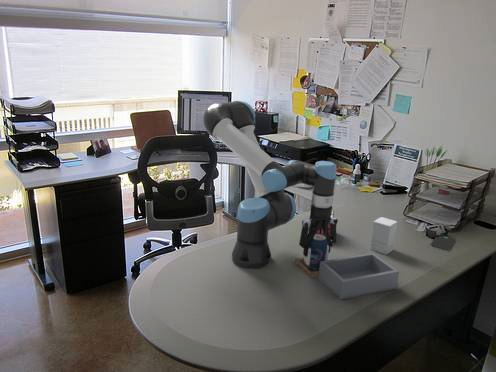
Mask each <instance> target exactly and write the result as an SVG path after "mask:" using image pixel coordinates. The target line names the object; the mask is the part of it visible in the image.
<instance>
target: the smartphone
mask: <svg viewBox="0 0 496 372" xmlns="http://www.w3.org/2000/svg"><path fill="white" fill-rule="evenodd" d="M455 242H456V239H455V238H453V237H451V236H445V235H443V236H439V237H436V236H435V238H434V239H433V240H432V242H431V243H430V247H431V248H433V249H436V250H440V251H444V252H449V251H450V250H451V248H452V246H453V245H454V244H455Z"/></svg>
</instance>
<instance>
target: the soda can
mask: <svg viewBox="0 0 496 372" xmlns="http://www.w3.org/2000/svg"><path fill="white" fill-rule="evenodd" d="M309 248H310V249H311V254H310V264H309V265H307V266H308V267H309V268H310V269H312V270H319V269H320V261H325V260H326V251H327V239H326V236H325V235H323V234H319V233H316V234H315V236H314V238H313V240H312V243H311V245H310V247H309Z"/></svg>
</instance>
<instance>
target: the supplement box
mask: <svg viewBox="0 0 496 372" xmlns="http://www.w3.org/2000/svg"><path fill="white" fill-rule="evenodd" d="M372 223H373V224H372V225H373V226H372V232H371V240H370V250H371V251H375V252H378V253H380V254H384V255H388V254H389V253H391V252H392V251H393V250H394V249H395V242H396V235H397V228H398V227H397V226H398V221H396V220H394V219H390V218H386V217H382V216H381V217H378V218H377V219H376V220H374V221H372Z"/></svg>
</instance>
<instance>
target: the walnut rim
mask: <svg viewBox="0 0 496 372" xmlns="http://www.w3.org/2000/svg"><path fill="white" fill-rule="evenodd" d="M304 258H305V257H301V258H300V257H299V258H294V263H295V264H296V265H297V266H298V268H300V269H301V270H302V271H303V272H304V273H305V274H306V275H307V276H308V277H309V278H315V277H319V271H314V272H313V271H312V272H311V271H310V270H309V268H307V267H306V266H305V265H304V264H303V263H305V262H304Z"/></svg>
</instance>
